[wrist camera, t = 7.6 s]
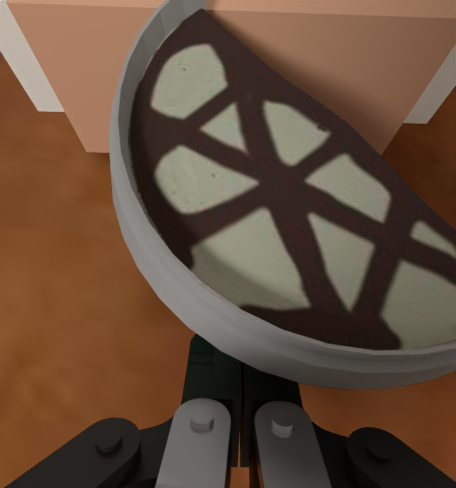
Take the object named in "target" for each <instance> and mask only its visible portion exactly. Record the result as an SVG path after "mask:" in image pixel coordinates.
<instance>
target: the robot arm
mask: <svg viewBox="0 0 456 488" xmlns="http://www.w3.org/2000/svg"><path fill="white" fill-rule="evenodd" d="M239 431H240V467H249V480H250V482H249V488H456V482H455V481H453V480H452V479H451V478H449V477H448V476H447V475H446V474H444V473H443V472H442V471H440V470H439V469H438V468H436V467H435V466H434V465H432V464H431V463H430V462H428V461H427V460H426V459H424V458H423V457H422V456H420V455H419V454H418V453H416V452H415V451H414V450H413V449H411V448H410V447H409V446H407V445H406V444H405V443H403V442H402V441H401V440H399V439H398V438H397V437H395V436H394V435H392V434H391V433H389V432H387V431H384V430H382V429H378V428H372V427H365V428H360V429H357V430H355V431H354V432H353V433H352V434H351V435H350V436H349V438H348V437H345V436H341V435H338V434H335V433H332V432H329V431H326V430H324V429H322V428H320V427H319V426H317V425H316V424H315V423H313V422H312V421H311V419H310V417H309V415H308V414H307V413H306V412H305V411H304V409H303V406H302V401H301V396H300V391H299V386H298V382H295V381H292V380H289V379H285V378H282V377H279V376H276V375H273V374H269V373H266V372H263V371H260V370H258V369H256V368H254V367H252V366H250V365H248V364H246V363H244V362H242V361H240V360H238V359H236V358H234V357H232V356H230V355H228V354H226V353H224V352H222V351H221V350H219V349H218V348H216V347H215V346H214V345H212V344H211V343H209V342H208V341H207V340H205V339H204V338H202V337H201V336H200V335H198V334H197V333H196V335H195V336H194V337H193V338H192V339H191V343H190V350H189V357H188V365H187V370H186V376H185V383H184V390H183V396H182V402H181V406H180V407H179V408H178V409H177V411H176V412H175V414H174V416H173V417H172V418H171V419H169V420H168V421H166V422H165V423H162V424H160V425H157V426H154V427H150V428H146V429H142V430H138V428H137V427H136V425H135V424H134V423H132V422H131V421H129V420H126V419H123V418H108V419H104V420H101V421H98V422H96V423H94V424H93V425H91V426H90V427H88V428H87V429H86V430H84V431H83V432H81V433H80V434H79V435H77V436H76V437H74V438H73V439H72V440H70V441H69V442H67V443H66V444H65V445H63V446H62V447H60V448H59V449H58V450H56V451H55V452H53V453H52V454H51V455H49V456H48V457H46V458H45V459H44V460H42V461H41V462H39V463H38V464H37V465H35V466H34V467H32V468H31V469H30V470H28V471H27V472H25V473H24V474H23V475H21V476H20V477H18V478H17V479H16V480H14V481H13V482H11V483H10V484H9V485H7V486H6V487H4V488H230V481H231V467H237V464H238V448H239Z"/></svg>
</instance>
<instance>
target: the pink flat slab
mask: <svg viewBox="0 0 456 488" xmlns="http://www.w3.org/2000/svg"><path fill="white" fill-rule="evenodd" d="M164 1H165V0H7V2H6V3H7V5H8V7H9V9H10V11H11V13H12V15H13V16H14V18H15V20H16V22H17V24H18V26H19V27H20V29H21V31H22V33H23V35H24V37H25V39H26V40H27V42H28V44H29V46H30V48H31V50H32V52H33V53H34V55H35V57H36V59H37V61H38V63H39V65H40V66H41V68H42V70H43V72H44V74H45V76H46V78H47V79H48V81H49V83H50V85H51V87H52V89H53V90H54V92H55V94H56V96H57V98H58V100H59V102H60V103H61V105H62V107H63V109H64V111H65V113H66V115H67V116H68V118H69V120H70V122H71V124H72V126H73V128H74V129H75V131H76V133H77V135H78V137H79V139H80V141H81V142H82V144H83V146H84V148H85V150H86V152H103V153H109V139H108V137H109V128H110V118H111V109H112V103H113V100H114V97H115V93H116V90H117V86H118V83H119V79H120V76H121V73H122V69H123V66H124V62H125V59H126V57H127V55H128V53H129V51H130V49H131V47H132V45H133V43H134V41H135V39H136V37H137V35H138V33H139V31H140V30H141V29H142V27H143V26H144V25H145V23H146V22H147V21H148V19H149V18H150V17H151V15H152V14H153V13H154V11H155V10H156V9H157V8H158V7H159V6H160V5H161V4H162V3H163V2H164ZM206 8H207V12H208V13H209V14H210V15H211V16H212V17H213V18H214V19H215V20H217V21H218V22H219V23H220V24H221V25H222V26H223V27H224V28H226V29H227V30H228V31H229V32H230V33H231V34H232V35H233V36H234V37H236V38H237V39H238V40H239V41H240V42H241V43H243V44H244V45H245V46H246V47H247V48H248V49H249V50H251V51H252V52H253V53H254V54H255V55H256V56H258V57H259V58H260V59H261V60H262V61H263V62H264V63H266V64H267V65H268V66H269V67H270V68H271V69H273V70H274V71H276V72H277V73H278V74H280V75H281V76H282V77H284V78H285V79H286V80H288V81H289V82H291V83H292V84H294V85H295V86H297V87H298V88H300V89H301V90H303V91H304V92H306V93H307V94H309V95H310V96H312V97H313V98H315V99H316V100H317V101H319V102H320V103H322V104H323V105H325V106H326V107H327V108H329V109H330V110H331V111H333V112H334V113H335V114H337V115H338V116H339V117H340V118H342V119H343V120H345V121H346V122H347V123H348V124H349V125H351V126H352V127H353V128H354V129H355V130H356V131H357V132H358V133H359V134H360V135H361V136H362V137H363V138H364V139H365V140H366V141H367V142H368V143H369V144H370V145H371V146H372V147H373V148H374V149H375V150H376V151H377V152H378V154H379V155H380V156H381V155H382V154H383V152H384V151H385V149H386V148H387V146H388V145H389V143H390V142H391V140H392V139H393V137H394V136H395V134H396V133H397V131H398V130H399V128H400V127H401V125H402V124H403V122H404V121H405V119H406V118H407V116H408V115H409V113H410V112H411V110H412V109H413V107H414V106H415V104H416V103H417V101H418V100H419V98H420V97H421V95H422V94H423V92H424V91H425V89H426V87H427V86H428V84H429V83H430V81H431V80H432V78H433V77H434V75H435V74H436V72H437V71H438V69H439V68H440V66H441V65H442V63H443V62H444V60H445V59H446V57H447V56H448V54H449V53H450V51H451V50H452V48H453V47H454V45H455V44H456V0H206Z"/></svg>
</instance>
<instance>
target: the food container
mask: <svg viewBox="0 0 456 488" xmlns="http://www.w3.org/2000/svg"><path fill="white" fill-rule="evenodd" d="M108 139H109V153H110V168H111V180H112V192H113V203H114V207H115V210H116V214H117V218H118V221H119V225H120V229H121V232H122V236H123V238H124V240H125V242H126V244H127V246H128V248H129V250H130V252H131V255H132V257H133V259H134V261H135V263H136V265H137V267H138V269H139V270H140V272H141V273H142V274H143V276H144V277H145V279H146V280H147V281H148V283H149V284H150V286H151V287H152V289H153V290H154V291H155V293H156V294H157V296H158V297H159V298H160V300H161V301H162V302H163V303H164V304H165V305H166V306H167V307H168V308H169V309H170V310H171V311H172V312H173V313H174V314H175V315H176V316H177V317H178V318H179V319H180V320H181V321H182V322H183V323H184V324H185V325H186V326H187V327H189V328H190V329H191V330H193V331H194V332H195V333H197V334H198V335H200V336H201V337H202V338H204V339H205V340H207V341H208V342H209V343H211V344H212V345H214V346H215V347H216V348H218V349H219V350H221V351H222V352H224V353H226V354H228V355H230V356H232V357H234V358H236V359H238V360H240V361H242V362H244V363H246V364H248V365H250V366H252V367H254V368H256V369H258V370H260V371H263V372H266V373H269V374H273V375H276V376H279V377H282V378H285V379H289V380H292V381H295V382H298V383H301V384H308V385H315V386H322V387H329V388H336V389H343V390H358V389H390V388H395V387H400V386H405V385H410V384H415V383H420V382H425V381H430V380H432V379H435V378H437V377H440V376H442V375H445V374H447V373H450V372H452V371H455V370H456V231H455V230H454V229H453V228H452V227H451V226H450V225H449V224H448V223H447V222H445V221H444V220H443V219H442V218H441V217H440V216H439V215H438V214H437V213H435V212H434V211H433V210H432V209H431V208H430V207H429V206H428V205H427V204H426V203H425V202H424V201H423V200H422V199H421V198H420V197H419V196H418V195H417V194H416V193H415V192H414V191H413V190H412V189H411V188H410V187H409V186H408V185H407V184H406V183H405V182H404V180H403V179H402V178H401V177H400V176H399V175H398V174H397V173H396V172H395V171H394V170H393V169H392V168H391V166H390V165H389V164H388V163H387V162H386V161H385V160H384V159H383V158H382V157H381V156H380V155H379V154H378V152H377V151H376V150H375V149H374V148H373V147H372V146H371V145H370V144H369V143H368V142H367V141H366V140H365V139H364V138H363V137H362V136H361V135H360V134H359V133H358V132H357V131H356V130H355V129H354V128H353V127H352V126H351V125H349V124H348V123H347V122H346V121H345V120H343V119H342V118H340V117H339V116H338V115H337V114H335V113H334V112H333V111H331V110H330V109H329V108H327V107H326V106H325V105H323V104H322V103H320V102H319V101H317V100H316V99H315V98H313V97H312V96H310V95H309V94H307V93H306V92H304V91H303V90H301V89H300V88H298V87H297V86H295V85H294V84H292V83H291V82H289V81H288V80H286V79H285V78H284V77H282V76H281V75H280V74H278V73H277V72H276V71H274V70H273V69H271V68H270V67H269V66H268V65H267V64H266V63H264V62H263V61H262V60H261V59H260V58H259V57H258V56H256V55H255V54H254V53H253V52H252V51H251V50H249V49H248V48H247V47H246V46H245V45H244V44H243V43H241V42H240V41H239V40H238V39H237V38H236V37H234V36H233V35H232V34H231V33H230V32H229V31H228V30H227V29H226V28H224V27H223V26H222V25H221V24H220V23H219V22H218V21H217V20H215V19H214V18H213V17H212V16H211V15H210V14H209V13H208V12H207V8H206V0H165V1H164V2H163V3H162V4H161V5H160V6H159V7H158V8H157V9H156V10H155V11H154V13H153V14H152V15H151V17H150V18H149V19H148V21H147V22H146V23H145V25H144V26H143V27H142V29H141V30H140V31H139V33H138V35H137V37H136V39H135V41H134V43H133V45H132V47H131V49H130V51H129V53H128V55H127V57H126V59H125V62H124V66H123V69H122V73H121V76H120V79H119V83H118V86H117V90H116V93H115V97H114V100H113V103H112V109H111V118H110V128H109V137H108Z"/></svg>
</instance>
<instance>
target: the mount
mask: <svg viewBox="0 0 456 488" xmlns="http://www.w3.org/2000/svg"><path fill="white" fill-rule="evenodd" d="M6 2H7V0H0V51H1V53H2V54H3V56H4V58H5V59H6V61H7V62H8V64H9V65H10V67H11V69H12V70H13V72H14V73H15V75H16V77H17V78H18V80H19V81H20V83H21V84H22V86H23V88H24V89H25V91H26V92H27V94H28V96H29V97H30V99H31V100H32V102H33V103H34V105H35V107H36V108H37V110H38V111H47V112H65V111H64V109H63V107H62V105H61V103H60V102H59V100H58V98H57V96H56V94H55V92H54V90H53V89H52V87H51V85H50V83H49V81H48V79H47V78H46V76H45V74H44V72H43V70H42V68H41V66H40V65H39V63H38V61H37V59H36V57H35V55H34V53H33V52H32V50H31V48H30V46H29V44H28V42H27V40H26V39H25V37H24V35H23V33H22V31H21V29H20V27H19V26H18V24H17V22H16V20H15V18H14V16H13V15H12V13H11V11H10V9H9V7H8V5H7V3H6ZM455 86H456V44H455V45H454V47H453V48H452V50H451V51H450V53H449V54H448V56H447V57H446V59H445V60H444V62H443V63H442V65H441V66H440V68H439V69H438V71H437V72H436V74H435V75H434V77H433V78H432V80H431V81H430V83H429V84H428V86H427V87H426V89H425V91H424V92H423V94H422V95H421V97H420V98H419V100H418V101H417V103H416V104H415V106H414V107H413V109H412V110H411V112H410V113H409V115H408V116H407V118H406V119H405V121H404V122H403V123H417V124H427V123H428V121H429V120H430V119H431V117H432V116H433V115H434V113H435V112H436V111H437V109H438V108H439V107H440V105H441V104H442V103H443V101H444V100H445V99H446V97H447V96H448V95H449V94H450V92H451V91H452V90H453V88H454V87H455Z"/></svg>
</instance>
